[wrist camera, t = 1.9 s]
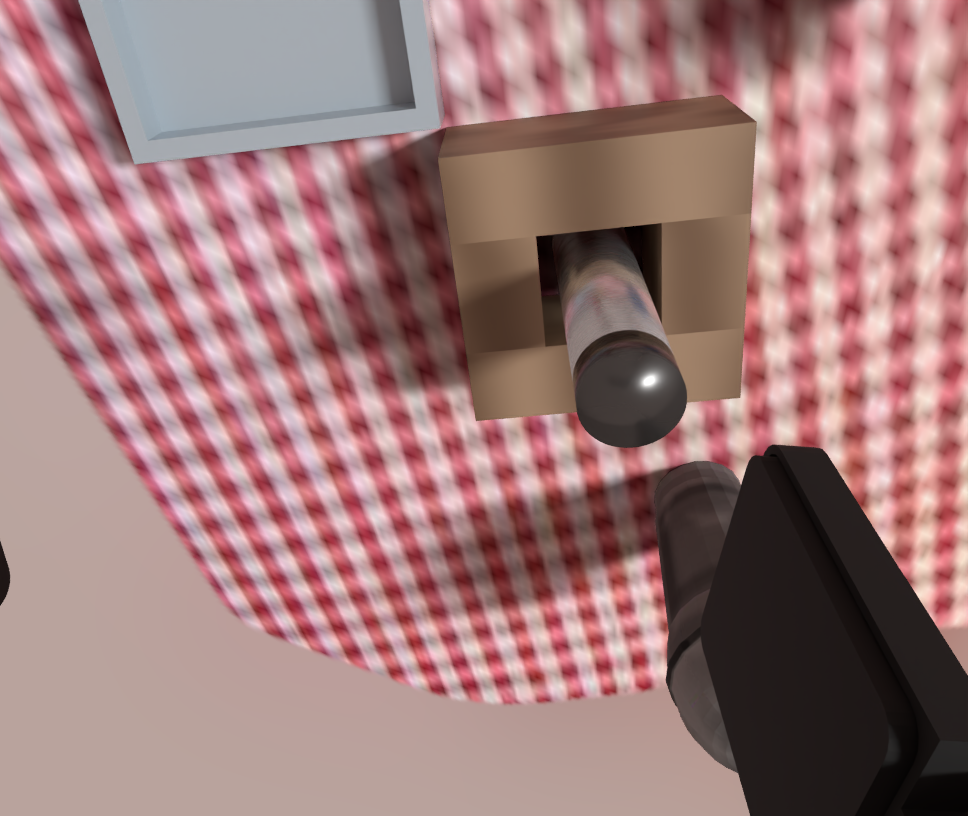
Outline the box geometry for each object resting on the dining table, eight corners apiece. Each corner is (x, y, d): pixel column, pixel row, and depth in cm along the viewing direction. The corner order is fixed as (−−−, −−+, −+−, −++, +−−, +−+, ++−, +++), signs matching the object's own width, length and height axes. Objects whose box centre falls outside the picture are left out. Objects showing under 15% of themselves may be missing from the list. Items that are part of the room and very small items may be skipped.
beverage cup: (676, 417, 39) (810, 800, 22) (797, 470, 41) (1010, 866, 24) (602, 520, 43) (668, 918, 25) (716, 565, 44) (850, 970, 27)
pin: (624, 202, 33) (688, 348, 22) (626, 273, 35) (686, 443, 24) (549, 210, 34) (573, 359, 22) (554, 280, 35) (579, 451, 24)
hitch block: (722, 94, 31) (756, 121, 27) (712, 342, 37) (740, 397, 33) (446, 127, 32) (437, 158, 28) (479, 364, 38) (475, 420, 33)
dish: (407, -158, 27) (399, -165, 25) (444, 114, 32) (440, 128, 30) (75, -109, 28) (39, -112, 26) (158, 148, 33) (134, 164, 31)
